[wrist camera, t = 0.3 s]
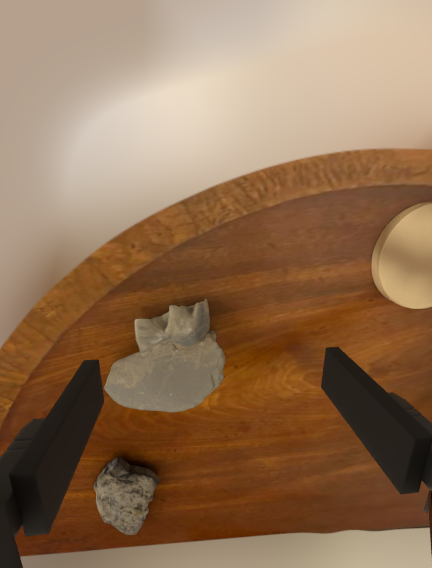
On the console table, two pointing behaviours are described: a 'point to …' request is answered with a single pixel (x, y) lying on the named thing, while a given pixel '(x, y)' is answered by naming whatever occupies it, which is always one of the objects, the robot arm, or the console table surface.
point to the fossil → (169, 362)
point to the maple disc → (406, 258)
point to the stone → (124, 495)
